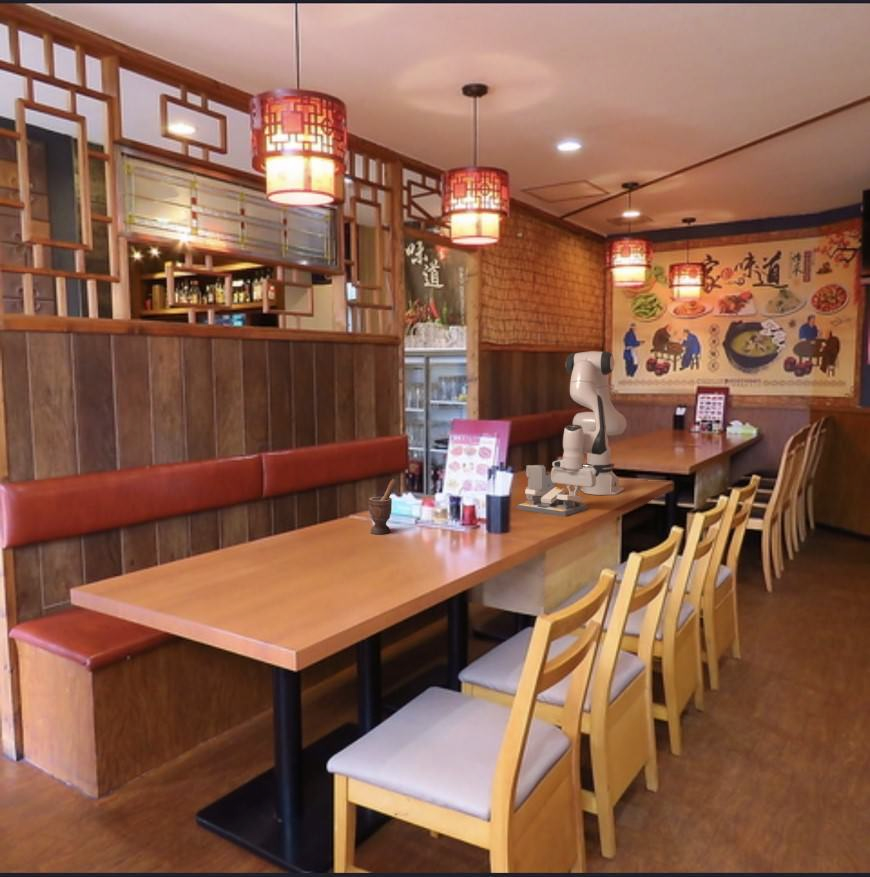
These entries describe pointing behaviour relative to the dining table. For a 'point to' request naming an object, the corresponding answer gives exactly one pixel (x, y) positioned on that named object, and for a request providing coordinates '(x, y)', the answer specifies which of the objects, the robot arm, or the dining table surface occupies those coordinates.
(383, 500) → the mortar and pestle
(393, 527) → the dining table surface
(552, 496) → the rocker
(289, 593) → the dining table surface
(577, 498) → the block
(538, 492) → the block
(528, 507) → the switch unit
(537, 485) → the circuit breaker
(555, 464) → the robot arm
